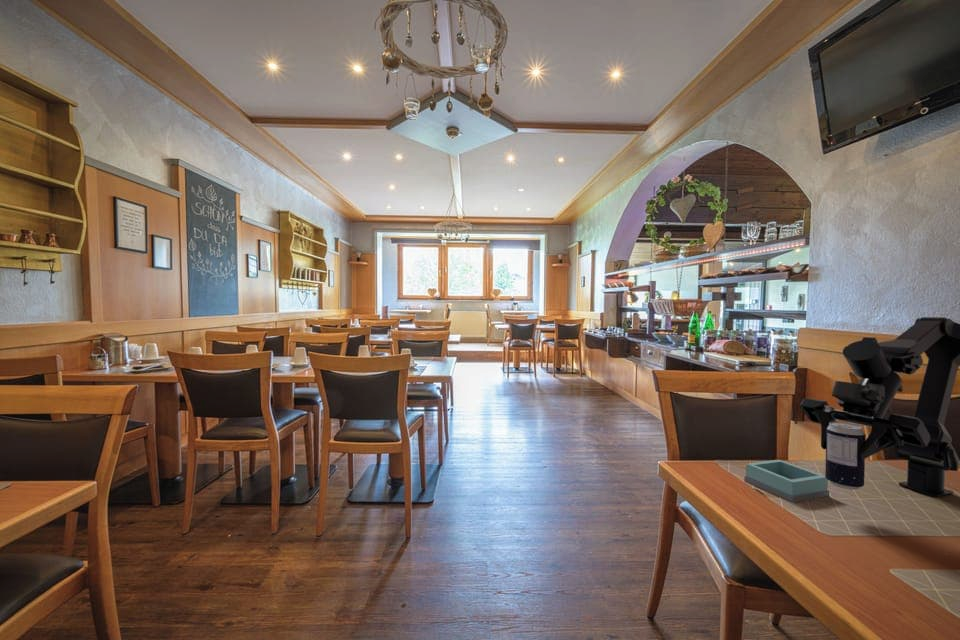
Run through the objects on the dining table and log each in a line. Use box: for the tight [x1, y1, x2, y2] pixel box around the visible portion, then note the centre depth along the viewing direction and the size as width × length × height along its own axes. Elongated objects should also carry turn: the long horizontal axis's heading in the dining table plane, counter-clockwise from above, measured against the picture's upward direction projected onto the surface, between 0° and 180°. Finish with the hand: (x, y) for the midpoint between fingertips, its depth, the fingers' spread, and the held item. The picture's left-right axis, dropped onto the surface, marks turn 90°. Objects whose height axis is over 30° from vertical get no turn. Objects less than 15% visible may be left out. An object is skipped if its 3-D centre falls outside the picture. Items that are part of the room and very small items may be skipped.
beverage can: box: [824, 421, 866, 491], centre depth 78 cm, size 6×6×12 cm
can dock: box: [743, 459, 830, 503], centre depth 90 cm, size 11×11×4 cm
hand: (840, 452), depth 78 cm, fingers closed on beverage can, 6 cm apart
